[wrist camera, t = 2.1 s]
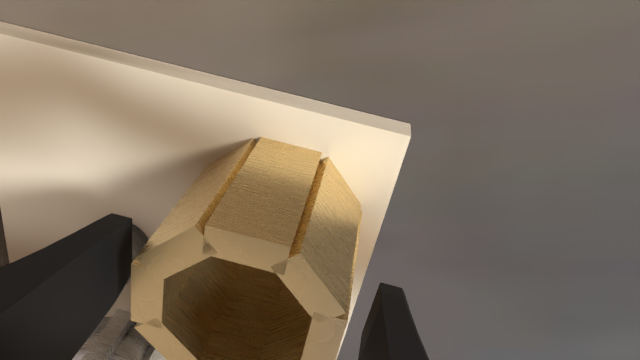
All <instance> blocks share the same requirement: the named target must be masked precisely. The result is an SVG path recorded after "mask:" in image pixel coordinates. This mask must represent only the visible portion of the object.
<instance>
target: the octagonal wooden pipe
mask: <svg viewBox="0 0 640 360" xmlns="http://www.w3.org/2000/svg"><path fill="white" fill-rule="evenodd" d="M321 155H322V152H319V151H315V150H311V149H307V148H303V147H299V146H295V145H291V144H287V143H283V142H280V141H276V140H272V139H268V138H264V137H261V138H260V139H259V141H258V142H256V141H255V139H254V138H252V139H250V140H249V141H247V142H245V143H244V144H242V145H240V146H238V147H237V148H235V149H233V150H232V151H230V152H228V153H227V154H225V155H223V156H221V157H220V158H218V159H216V160H215V161H213V162H211V163H209V164H208V165H207V166H206V167H205V168H204V169H203V171H202V172H201V173H200V175H199V176H198V177H197V178H196V180H195V181H194V182H193V184H192V185H191V186H190V187H189V189H188V190H187V191H186V193H185V194H184V195H183V196H182V198H181V199H180V200H179V202H178V203H177V204H176V205H175V207H174V208H173V209H172V211H171V212H170V213H169V214H168V216H167V217H166V218H165V220H164V221H163V222H162V223H161V225H160V226H159V227H158V229H157V230H156V231H155V232H154V234H153V235H152V236H151V238H150V239H149V240H148V241H147V243H146V244H145V245H144V247H143V248H142V249H141V250H140V252H139V253H138V254H137V256H136V257H135V260H134V261H133V262H132V263H131V321H135V322H138V323H137V324H136V326H135V327H134V328H135V329H136V330H137V331H138V332H139V333H140V334H141V335H142V336H143V337H144V338H145V339H146V340H147V341H148V342H149V343H150V344H151V345H152V346H153V347H154V348H155V349H156V350H157V351H158V352H159V353H160V354H161V355H162V356H163V357H164V358H165V359H166V360H335V358H336V355H337V352H338V349H339V346H340V343H341V340H342V337H343V334H344V331H345V328H346V325H347V322H348V316H349V309H350V301H351V293H352V286H353V278H354V271H355V263H356V255H357V248H358V240H359V233H360V225H361V217H362V211H361V203H360V202H359V200H358V199H357V197H356V196H355V195H354V193H353V192H352V190H351V189H350V187H349V186H348V184H347V183H346V181H345V180H344V178H343V177H342V175H341V174H340V173H339V171H338V170H337V168H336V167H335V165H334V164H333V162H332V161H331V159H330V158H329V157H327V158H326V159H324V160H322V161H320V159H321Z"/></svg>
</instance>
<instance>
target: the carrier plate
mask: <svg viewBox="0 0 640 360" xmlns="http://www.w3.org/2000/svg"><path fill="white" fill-rule="evenodd" d="M261 137H264V138H268V139H272V140H276V141H280V142H283V143H287V144H291V145H295V146H299V147H303V148H307V149H311V150H315V151H319V152H322V155H321V159H320V161H322V160H324V159H326V158H327V157H329V158H330V159H331V161H332V162H333V164H334V165H335V167H336V168H337V170H338V171H339V173H340V174H341V175H342V177H343V178H344V180H345V181H346V183H347V184H348V186H349V187H350V189H351V190H352V192H353V193H354V195H355V196H356V197H357V199H358V200H359V202H360V203H361V211H362V217H361V225H360V233H359V240H358V248H357V255H356V263H355V271H354V278H353V286H352V293H351V301H350V309H349V316H348V322H347V325H346V328H345V331H344V334H343V337H342V340H341V343H340V346H339V349H338V352H337V355H336V358H335V360H337V357H338V354H339V351H340V348H341V345H342V342H343V339H344V336H345V333H346V330H347V327H348V324H349V321H350V318H351V315H352V312H353V309H354V306H355V303H356V300H357V297H358V294H359V291H360V288H361V285H362V282H363V279H364V276H365V273H366V270H367V267H368V264H369V261H370V258H371V255H372V252H373V249H374V246H375V243H376V240H377V237H378V234H379V231H380V228H381V225H382V222H383V219H384V216H385V213H386V210H387V207H388V204H389V201H390V198H391V195H392V192H393V189H394V186H395V183H396V180H397V177H398V174H399V171H400V168H401V165H402V162H403V159H404V156H405V153H406V150H407V147H408V144H409V141H410V138H411V129H410V124H408V123H404V122H400V121H396V120H392V119H388V118H384V117H380V116H376V115H372V114H368V113H364V112H360V111H356V110H352V109H348V108H344V107H340V106H336V105H332V104H328V103H324V102H320V101H316V100H312V99H308V98H304V97H300V96H296V95H292V94H288V93H284V92H280V91H276V90H272V89H268V88H264V87H261V86H257V85H253V84H249V83H245V82H241V81H237V80H233V79H229V78H225V77H221V76H217V75H213V74H209V73H205V72H201V71H197V70H193V69H189V68H185V67H181V66H177V65H173V64H169V63H165V62H161V61H157V60H153V59H149V58H145V57H141V56H137V55H133V54H129V53H125V52H121V51H117V50H113V49H109V48H105V47H101V46H97V45H93V44H89V43H85V42H81V41H77V40H73V39H69V38H65V37H61V36H57V35H53V34H49V33H45V32H41V31H37V30H33V29H29V28H25V27H21V26H17V25H13V24H9V23H5V22H1V21H0V208H1V214H2V220H3V227H4V233H5V239H6V245H7V251H8V257H9V263H12V262H14V261H16V260H19V259H21V258H23V257H25V256H27V255H30V254H32V253H34V252H36V251H38V250H40V249H43V248H45V247H47V246H49V245H51V244H53V243H54V242H56V241H58V240H60V239H62V238H64V237H66V236H68V235H70V234H72V233H74V232H76V231H78V230H80V229H82V228H84V227H85V226H87V225H89V224H91V223H93V222H95V221H97V220H99V219H101V218H103V217H105V216H107V215H109V214H111V213H114V214H118V215H121V216H125V217H129V218H132V224H134V225H136V226H137V227H139V228H140V229H141V230H142V231H143V232H144V233H145V234H146V236H147V237H148V239H150V238H151V236H152V235H153V234H154V232H155V231H156V230H157V229H158V227H159V226H160V225H161V223H162V222H163V221H164V220H165V218H166V217H167V216H168V214H169V213H170V212H171V211H172V209H173V208H174V207H175V205H176V204H177V203H178V202H179V200H180V199H181V198H182V196H183V195H184V194H185V193H186V191H187V190H188V189H189V187H190V186H191V185H192V184H193V182H194V181H195V180H196V178H197V177H198V176H199V175H200V173H201V172H202V171H203V169H204V168H205V167H206V166H207V165H208V164H209V163H211V162H213V161H215V160H216V159H218V158H220V157H221V156H223V155H225V154H227V153H228V152H230V151H232V150H233V149H235V148H237V147H238V146H240V145H242V144H244V143H245V142H247V141H249V140H250V139H252V138H254V139H255V141H256V142H258V141H259V139H260V138H261ZM117 309H121V310H124V311H128V312H131V281H130V282H129V283H128V285H127V286H126V287H125V289H124V290H123V292H122V293H121V294H120V296H119V297H118V298H117V300H116V302H115V303H114V305H113V306H112V307H111V309H110V310H109V311H108V313H107V314H106V315H105V317H112V316H113V315H114V314H115V312H116V311H117ZM134 322H135V321H134ZM136 323H138V322H136Z"/></svg>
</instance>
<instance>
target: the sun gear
mask: <svg viewBox="0 0 640 360" xmlns="http://www.w3.org/2000/svg"><path fill="white" fill-rule="evenodd" d="M136 324H137V323H136V322H134V321H131V312H128V311H124V310H121V309H117V311H116V312H115V314H114V315H113V316H112V317H104V318H103V319H102V321H101V322H100V323H99V325H98V326H97V327H96V329H95V330H94V331H93V333H92V334H91V335H90V337H89V338H88V339H87V340H86V342H85V343H84V344H83V346H82V347H81V348H80V350H79V351H78V352H77V354H76V355H75V356H74V358H73V359H72V360H166V359H165V358H164V357H163V356H162V355H161V354H160V353H159V352H158V351H157V350H156V349H155V348H154V347H153V346H152V345H151V344H150V343H149V342H148V341H147V340H146V339H145V338H144V337H143V336H142V335H141V334H140V333H139V332H138V331H137V330H136V329H135V328H134V327H135V326H136Z"/></svg>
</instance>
